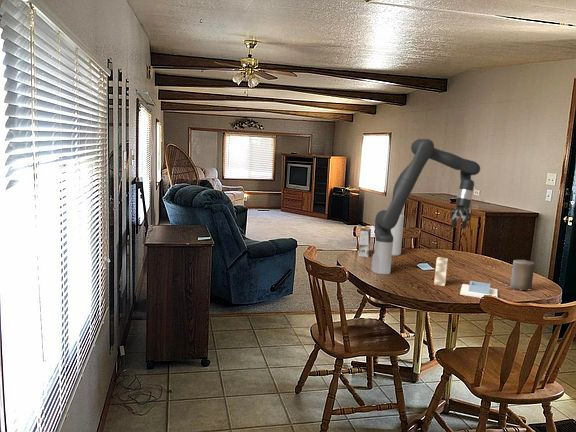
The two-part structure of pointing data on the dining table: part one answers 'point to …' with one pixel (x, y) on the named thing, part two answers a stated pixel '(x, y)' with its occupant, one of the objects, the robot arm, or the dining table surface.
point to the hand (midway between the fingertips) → (458, 227)
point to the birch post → (441, 271)
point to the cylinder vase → (397, 236)
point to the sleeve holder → (477, 289)
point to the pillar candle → (522, 274)
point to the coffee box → (364, 242)
